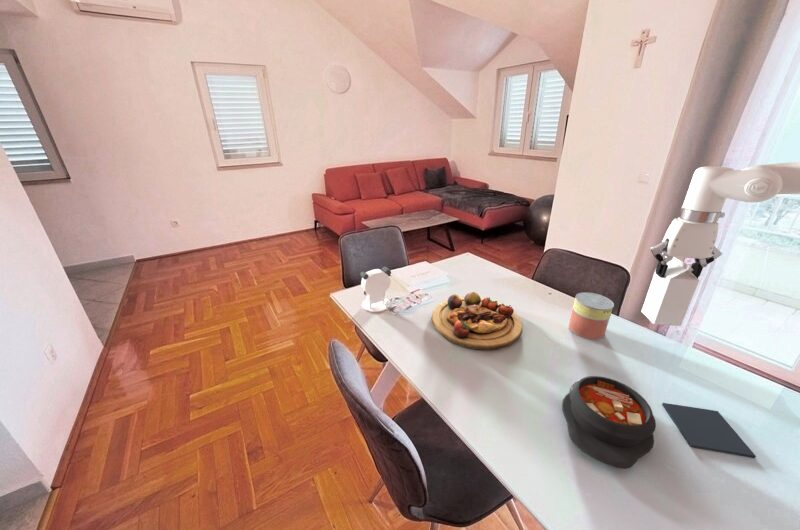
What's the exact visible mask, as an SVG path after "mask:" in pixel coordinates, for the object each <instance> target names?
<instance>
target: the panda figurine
mask: <svg viewBox="0 0 800 530" xmlns="http://www.w3.org/2000/svg"><path fill="white" fill-rule="evenodd" d="M391 274H392V271H391V270H390V269H389V268H388V267H386V266H382V268H381V269H380V268H374V269H370V270H368V271H360V273H359V275H360V277H361V281H360V286H361V289H362V290H363V295H364V296H365V299H364V300H363V301H362V302H361V308H362V309H363V310H364V311H366V312H369V313H380V312H384V311H386V310H387V309H388V308H386V305H385V304H386V302H387V301H389V302H390V300H389V298H388V299H387V298H386V292H387V291H388V289H389V288H390V287H391V282H392V281H391V278H390V275H391Z"/></svg>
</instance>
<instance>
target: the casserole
mask: <svg viewBox="0 0 800 530" xmlns="http://www.w3.org/2000/svg"><path fill="white" fill-rule="evenodd" d="M561 409H562V414H563V416H564V418H565V421H566V425H567V433H568V437H569V438H570V441H572V443H573V444H574V445H575V446H576V447H577V448H578V449H580V450H581V451H582V452H584V453H585V454H586V455H588V456H590V457H591V458H593V459H595V460H596V461H598V462H600V463H603V464H605V465H607V466H611V467H613V468H618V469H623V470H625V469H631V468H632V467H633V466H634V465H635V464H636V463H637V461H638V460H639V459H640V458H642V457H643V456H645V455H647V454H648V453H650V452H651V450H652V449H653V447H654V443H655V439H654V438H655V437H654V433H655V431H656V427H657V423H656V419H655V416H654V413H653V410H652V407H651V406H650V403H648V402H647V400H646V399H645V398H644V397H643V396H642V395H641V394H640V393H639V392H638V391H636V390H635V389H633V388H631V387H630V386H629V385H627V384H624V383H623V382H621V381H619V380H616V379H613V378H610V377H606V376H601V375H589V376H584V377H582V378H580V379H579V380H578V381H577V380H576V381H575V382H574V383H573V384H572V385H571V386H570V388H569V392H568V393H566V395H565V396H564V397H563V399H562V403H561Z"/></svg>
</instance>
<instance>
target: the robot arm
mask: <svg viewBox="0 0 800 530" xmlns="http://www.w3.org/2000/svg"><path fill="white" fill-rule="evenodd" d="M794 194H795V195H797V194H798V195H800V161H790V162H789V161H788V162H778V163H769V164H757V165H752V166H747V167H745V168H742V169H734V168H732V167H728V166H715V165H711V166H710V165H708V166H701V167H698V168H697V169H696V170H695V171H694V172H693V175H692V178H691V180H690V184H689V187H688V190H687V192H686V195H685V198H684V201H683V204H682V206H681V209H680V212H679V215H678V217H676V218H673V220H672V221H671V224H669V226H668V228H667V230H666V232H665V234H664V237H663V239H662V240H661V242H660V243H658V244H656V245H653V246H652V247H650V248H649V250H650V252H651V253H652V255H653V257H654V259H656V261H657V265H656V267H655V270H654V273H655V272H656V274H657V275H658V276H659V277H660V278H663V277H664V276H665V273H666V271H667V268H668V265H667V263H668V262H669V261H671V260H672V259H673V257H676V258H685V259H694V262H692V263H691V265H690V267H691V268H692V269H693V271H691V272H692V273H693V274H694V275H695V276H696V277H697V278H698V279H699V278H700V277H701V274H702V271H703V269H704V268H706V267H708V265H709V264H711V263H713V262H714V261H715V260H716V259H718V258H719V257H721V256H723V252H722V251H720V250H719V249H718V248H717V247H716V246H715V244H716V241H717V238H718V233H719V224H720V223H719V222H718V221H719V219H720V218H721V219H722V218H725V212H722V210H723V207H724V204H725V202H726V200H727V199H729V200H735V201H738V202H743V203H763V202H766V201H768V200H770V199H773V198H774V197H775V196H778V195H794ZM660 252H662V253H660Z"/></svg>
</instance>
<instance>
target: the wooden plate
mask: <svg viewBox="0 0 800 530" xmlns="http://www.w3.org/2000/svg"><path fill="white" fill-rule="evenodd" d="M431 323H432V326H433V327H434V330H436V332H437V333H438V334H439V335H440V336H442V337H443V338H445V339H446V340H448V341H449V342H451V343H453V344H456V345H458V346H461V347H465V348H469V349H475V350H497V349H502V348H505V347H508V346H510V345H512V344H513V343H516V342H517V340H518V339H520V337H521V335H522V333H523V322H522V319H521V318H520V316H519V315H518V314H517V313H516V312H515V311H514V308H513V306H512V305H511V304H509V305H505V304H504V303H501V302H499V301H498V300H493V299H491V297H490V296H489V297H481V296H480V295H479V294H478V293H477V292H475V291H472V292H468V293H467V294H466V295H464V296H460V295H459V294H456V293H453V294H451V295H450V296H449V297H448V298H447V299H446V300H443V301H442V302H440V303H438V305H436V306H435V308H434V309H433V311H432V313H431Z"/></svg>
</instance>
